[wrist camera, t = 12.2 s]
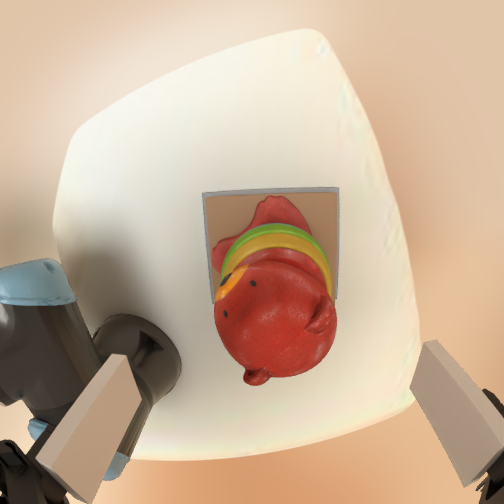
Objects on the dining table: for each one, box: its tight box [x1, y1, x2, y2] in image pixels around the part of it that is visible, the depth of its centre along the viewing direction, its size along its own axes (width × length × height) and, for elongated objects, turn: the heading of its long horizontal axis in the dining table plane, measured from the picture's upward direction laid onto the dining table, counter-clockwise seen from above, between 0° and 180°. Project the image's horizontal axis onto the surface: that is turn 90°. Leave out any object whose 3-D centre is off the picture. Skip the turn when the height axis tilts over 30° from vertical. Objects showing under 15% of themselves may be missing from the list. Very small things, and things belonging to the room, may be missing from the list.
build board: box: [202, 187, 339, 306], centre depth 32 cm, size 16×14×4 cm
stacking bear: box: [212, 195, 337, 386], centre depth 21 cm, size 11×10×18 cm
